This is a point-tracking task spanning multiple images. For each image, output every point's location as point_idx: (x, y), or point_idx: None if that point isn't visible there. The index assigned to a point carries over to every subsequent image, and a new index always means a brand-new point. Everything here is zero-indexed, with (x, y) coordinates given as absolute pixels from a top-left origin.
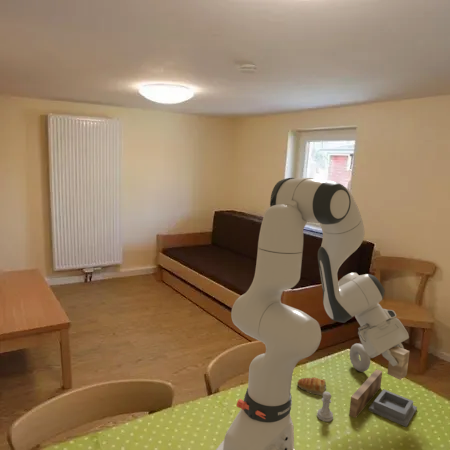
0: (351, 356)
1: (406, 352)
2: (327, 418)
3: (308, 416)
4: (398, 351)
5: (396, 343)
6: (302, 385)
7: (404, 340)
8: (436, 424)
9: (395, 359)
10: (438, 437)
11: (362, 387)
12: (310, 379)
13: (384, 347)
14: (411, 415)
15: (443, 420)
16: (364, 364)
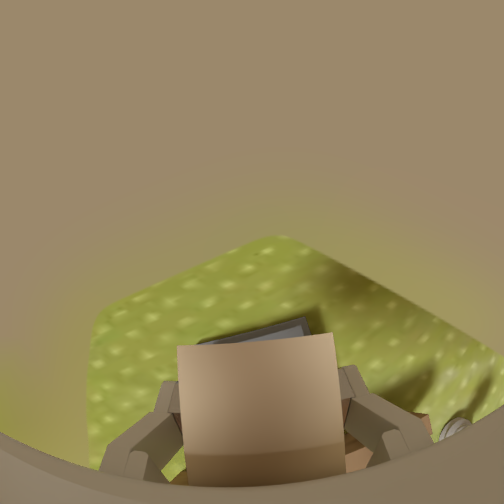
0: None
1: (241, 348)
2: (465, 419)
3: None
4: (306, 409)
5: (219, 496)
6: None
7: (45, 453)
8: (212, 280)
9: (349, 389)
10: (263, 252)
11: (352, 467)
12: None
13: (494, 439)
14: (251, 332)
15: (177, 278)
16: None
